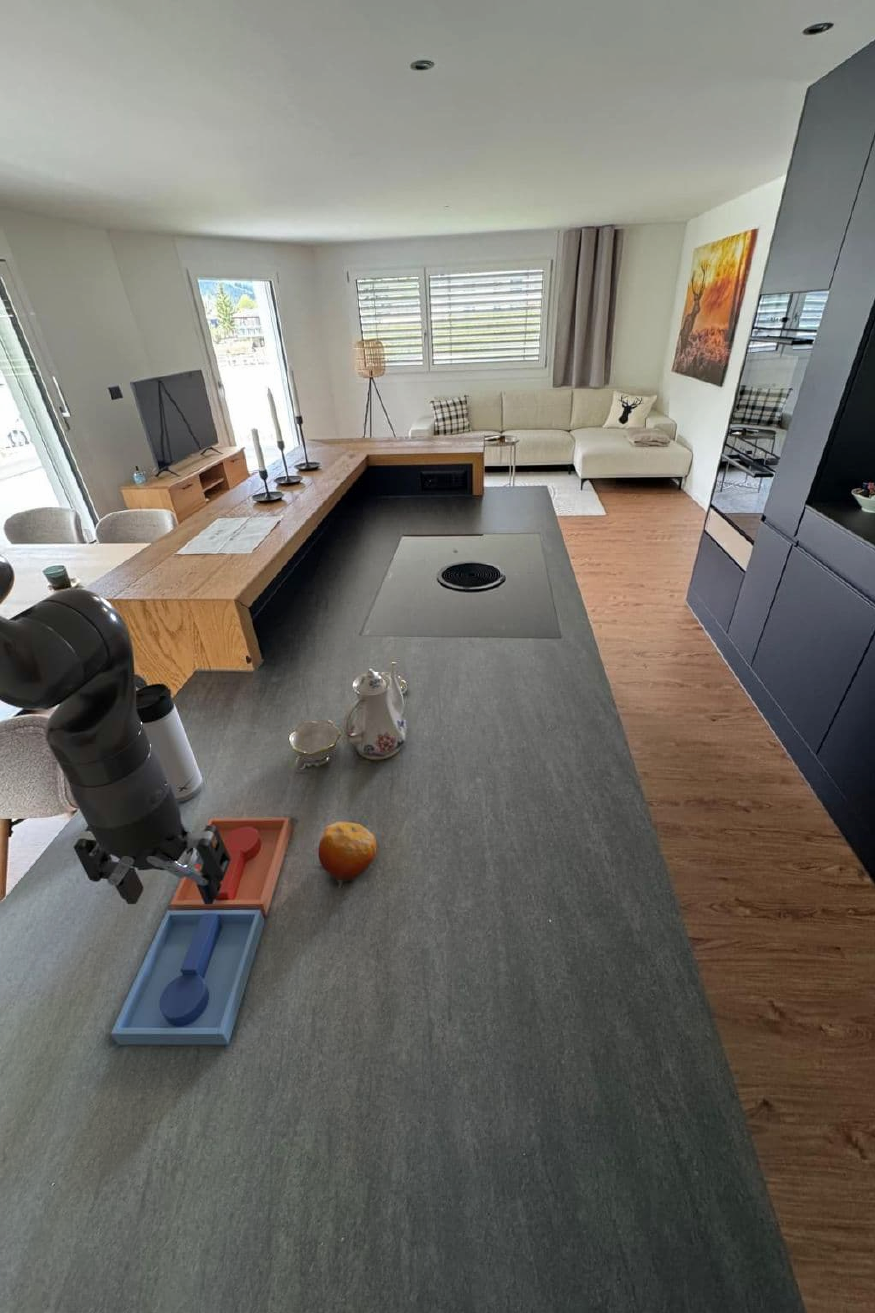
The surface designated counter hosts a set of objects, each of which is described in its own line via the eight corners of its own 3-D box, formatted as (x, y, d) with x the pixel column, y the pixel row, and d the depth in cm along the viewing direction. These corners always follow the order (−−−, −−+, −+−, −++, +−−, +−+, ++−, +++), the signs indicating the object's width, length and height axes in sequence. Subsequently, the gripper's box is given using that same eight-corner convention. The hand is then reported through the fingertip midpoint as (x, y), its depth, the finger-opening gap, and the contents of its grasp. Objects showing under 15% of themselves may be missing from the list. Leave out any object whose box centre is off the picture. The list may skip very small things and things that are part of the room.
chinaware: (377, 692, 116) (361, 621, 107) (446, 708, 107) (435, 632, 99) (283, 779, 96) (255, 699, 87) (359, 807, 87) (336, 722, 79)
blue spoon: (197, 927, 71) (190, 913, 69) (234, 926, 71) (228, 912, 69) (157, 1027, 61) (148, 1013, 60) (200, 1027, 61) (192, 1013, 60)
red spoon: (243, 906, 73) (238, 892, 72) (207, 907, 73) (201, 894, 72) (264, 834, 83) (260, 821, 81) (232, 836, 83) (227, 822, 81)
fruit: (297, 869, 77) (314, 817, 75) (339, 856, 83) (355, 809, 82) (333, 904, 72) (352, 850, 71) (375, 888, 78) (393, 838, 77)
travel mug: (197, 803, 90) (159, 705, 79) (157, 803, 90) (113, 706, 79) (211, 775, 95) (177, 679, 84) (173, 775, 95) (134, 680, 84)
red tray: (175, 916, 73) (169, 904, 72) (213, 829, 85) (209, 818, 84) (266, 915, 73) (262, 904, 71) (292, 828, 84) (289, 817, 83)
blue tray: (118, 1044, 60) (109, 1034, 59) (172, 921, 72) (166, 910, 71) (228, 1045, 60) (222, 1034, 59) (265, 921, 72) (260, 909, 71)
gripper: (213, 765, 56) (248, 868, 64) (74, 766, 56) (127, 868, 65) (183, 825, 49) (226, 929, 58) (27, 826, 50) (93, 929, 59)
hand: (174, 897), depth 62 cm, fingers open, 8 cm apart
